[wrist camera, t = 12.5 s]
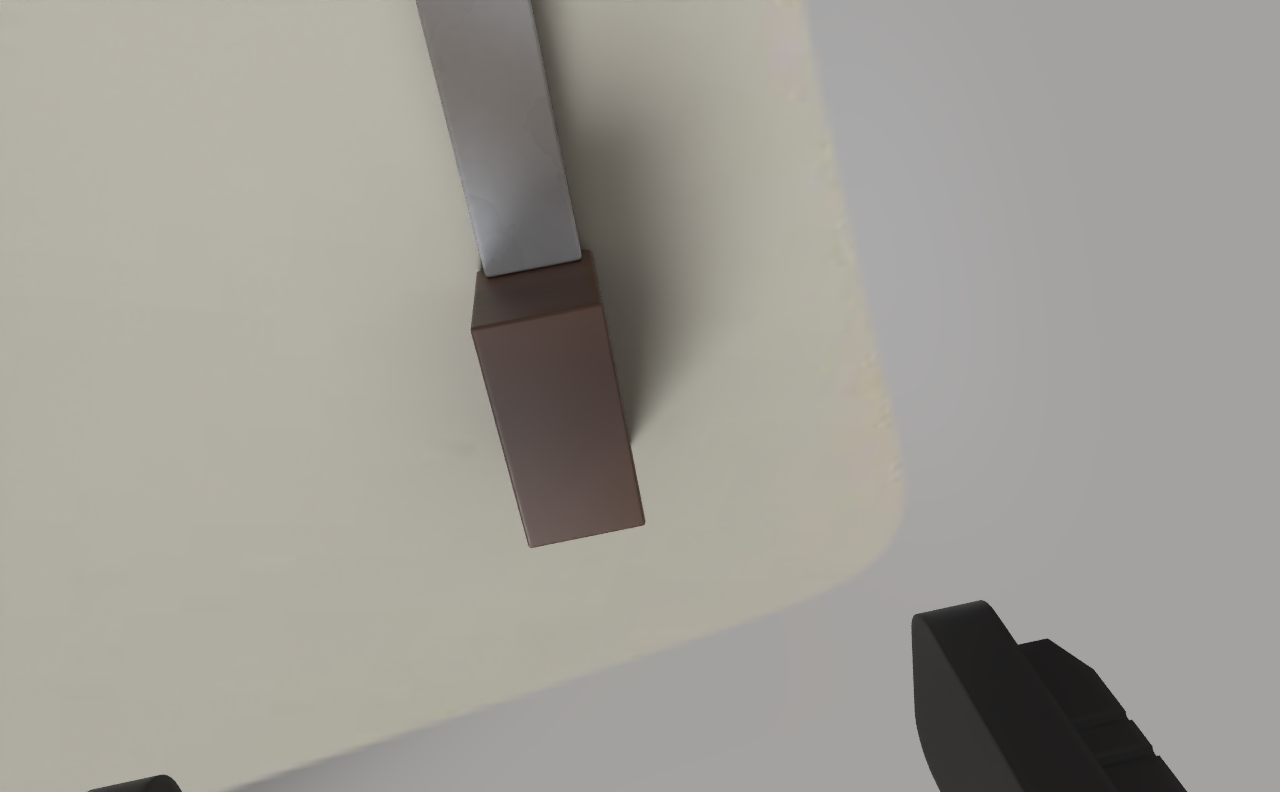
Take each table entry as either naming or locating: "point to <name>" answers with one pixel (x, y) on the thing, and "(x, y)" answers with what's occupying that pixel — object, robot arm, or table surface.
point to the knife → (532, 278)
